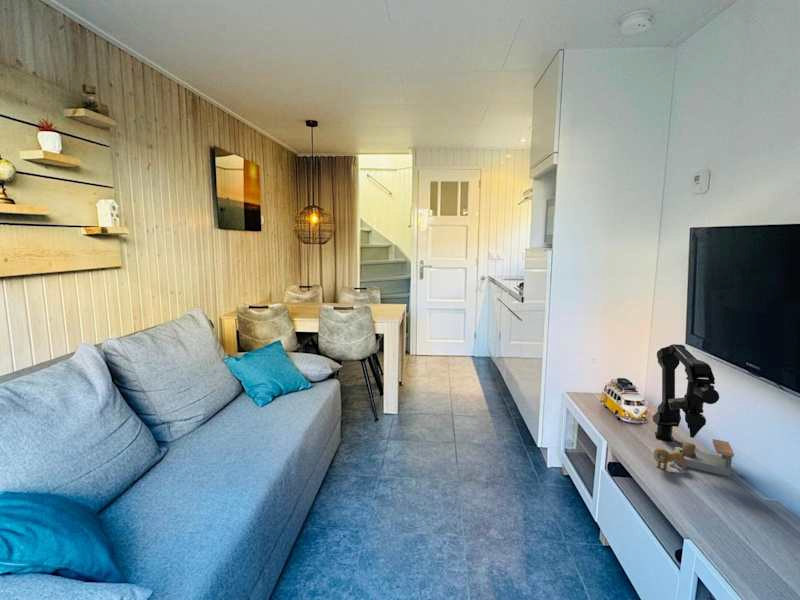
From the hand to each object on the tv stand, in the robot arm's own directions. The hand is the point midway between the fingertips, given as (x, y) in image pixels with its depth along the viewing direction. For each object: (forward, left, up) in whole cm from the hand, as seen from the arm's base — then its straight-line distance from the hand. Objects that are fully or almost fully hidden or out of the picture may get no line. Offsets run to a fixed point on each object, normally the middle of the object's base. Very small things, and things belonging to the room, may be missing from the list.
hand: (690, 432), depth 167 cm
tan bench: (0, +11, -12) cm, 16 cm away
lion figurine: (+11, -7, -12) cm, 18 cm away
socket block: (0, +5, -12) cm, 13 cm away
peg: (0, 0, -12) cm, 12 cm away
